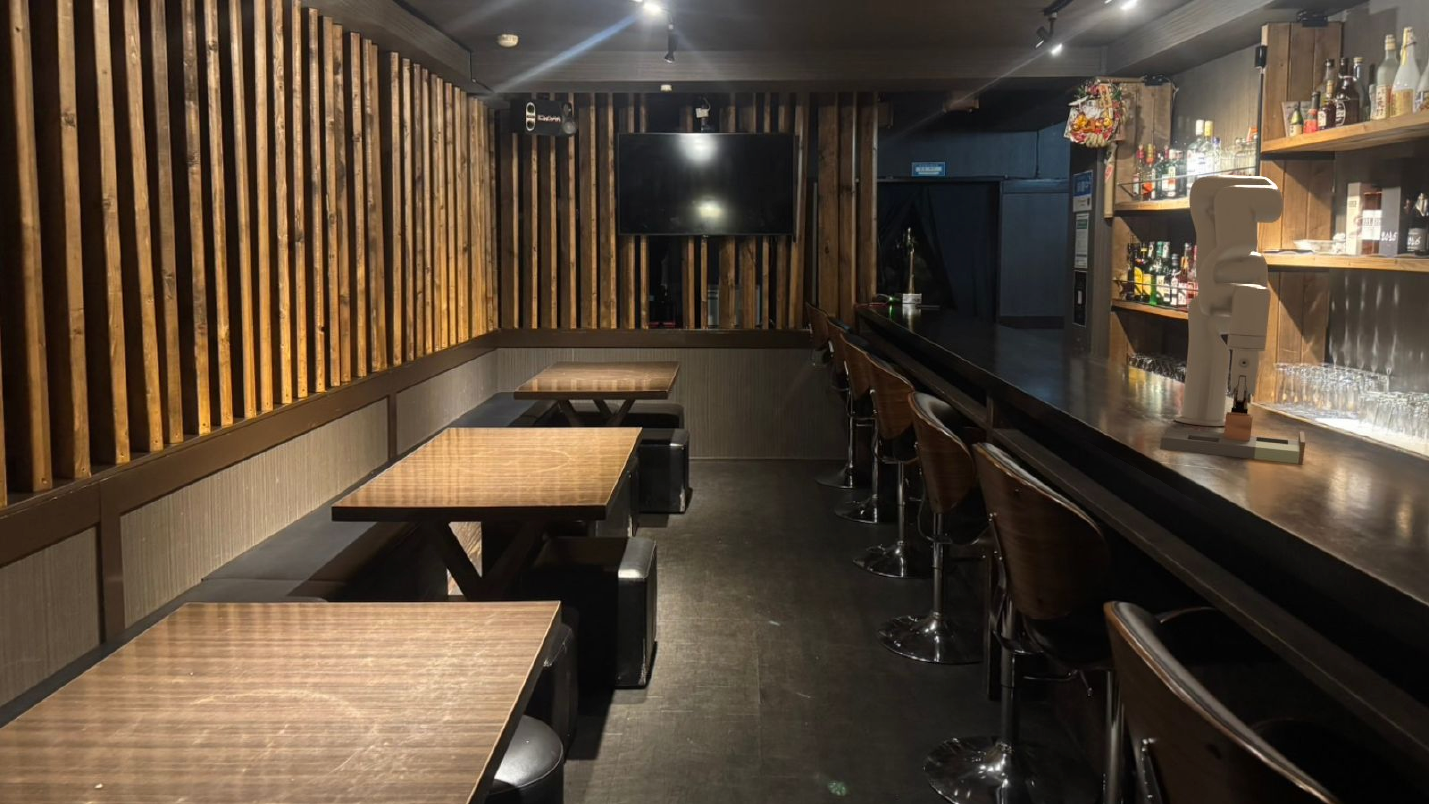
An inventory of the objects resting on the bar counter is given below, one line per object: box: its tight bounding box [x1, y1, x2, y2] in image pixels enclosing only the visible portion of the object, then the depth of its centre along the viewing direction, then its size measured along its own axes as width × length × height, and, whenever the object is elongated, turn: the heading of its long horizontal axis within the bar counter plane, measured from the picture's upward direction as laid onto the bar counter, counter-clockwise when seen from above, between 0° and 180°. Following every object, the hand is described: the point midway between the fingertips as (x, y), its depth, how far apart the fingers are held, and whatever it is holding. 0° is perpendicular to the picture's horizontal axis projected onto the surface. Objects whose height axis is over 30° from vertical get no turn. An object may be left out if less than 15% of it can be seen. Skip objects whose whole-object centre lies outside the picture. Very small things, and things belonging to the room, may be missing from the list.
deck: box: [1159, 427, 1306, 465], centre depth 235 cm, size 15×27×4 cm, turn 63°
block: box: [1223, 411, 1254, 441], centre depth 236 cm, size 5×5×5 cm
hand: (1237, 426), depth 244 cm, fingers closed
